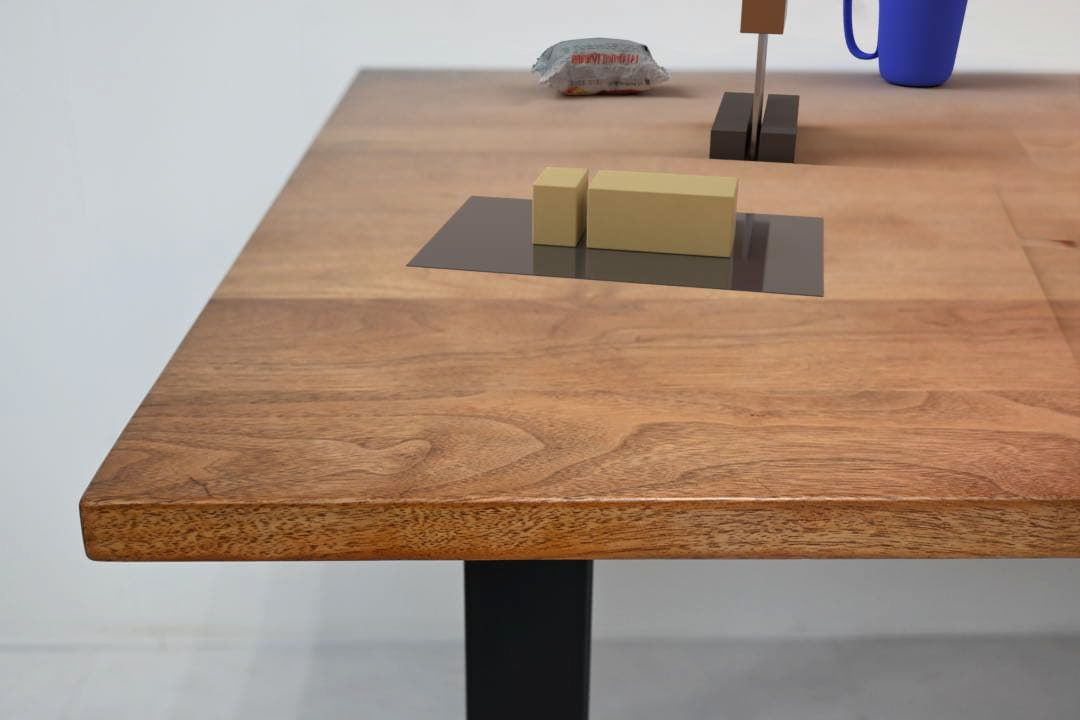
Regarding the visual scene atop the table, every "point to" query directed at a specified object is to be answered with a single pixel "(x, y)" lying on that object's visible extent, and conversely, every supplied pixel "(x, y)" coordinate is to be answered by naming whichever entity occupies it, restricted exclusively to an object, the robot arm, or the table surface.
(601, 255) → the butter board
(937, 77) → the mug
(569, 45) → the packaged food
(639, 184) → the butter stick
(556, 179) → the butter slice
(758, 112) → the scraper knife
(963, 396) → the table surface
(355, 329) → the table surface
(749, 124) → the knife holder
